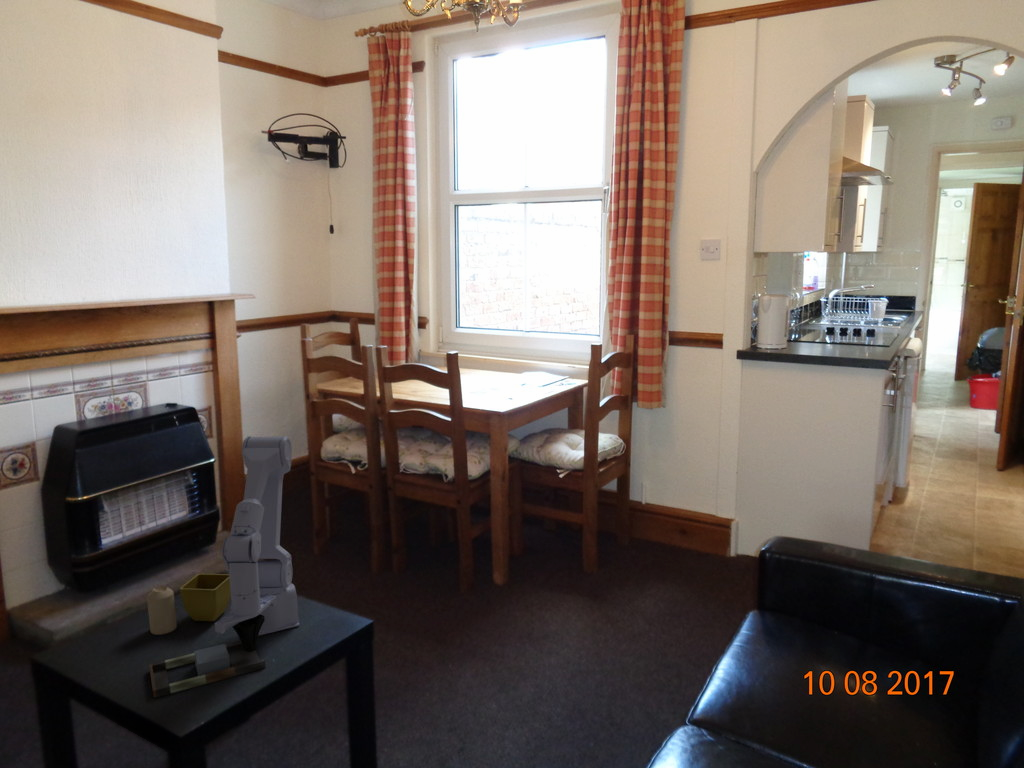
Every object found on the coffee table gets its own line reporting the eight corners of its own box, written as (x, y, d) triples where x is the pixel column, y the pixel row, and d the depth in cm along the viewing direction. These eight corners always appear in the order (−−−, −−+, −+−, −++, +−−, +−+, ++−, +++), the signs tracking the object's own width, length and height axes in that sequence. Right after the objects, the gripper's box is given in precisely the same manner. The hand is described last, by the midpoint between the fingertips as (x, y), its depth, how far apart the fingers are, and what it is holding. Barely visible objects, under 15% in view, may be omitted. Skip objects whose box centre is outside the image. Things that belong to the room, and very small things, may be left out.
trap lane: (255, 644, 163) (254, 637, 163) (265, 667, 153) (264, 661, 153) (149, 671, 153) (149, 664, 153) (153, 697, 143) (153, 690, 143)
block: (225, 658, 158) (224, 643, 157) (230, 672, 152) (229, 656, 152) (195, 666, 155) (194, 651, 154) (199, 680, 150) (197, 664, 149)
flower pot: (201, 607, 181) (198, 572, 179) (235, 608, 180) (232, 573, 178) (182, 625, 172) (178, 588, 170) (217, 626, 171) (214, 590, 170)
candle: (166, 636, 167) (162, 594, 165) (145, 633, 168) (140, 592, 166) (181, 624, 172) (178, 584, 171) (161, 622, 173) (156, 582, 172)
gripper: (259, 573, 163) (263, 630, 165) (202, 599, 150) (208, 661, 153) (281, 579, 159) (286, 638, 162) (226, 607, 147) (231, 670, 149)
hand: (249, 649), depth 157 cm, fingers closed
